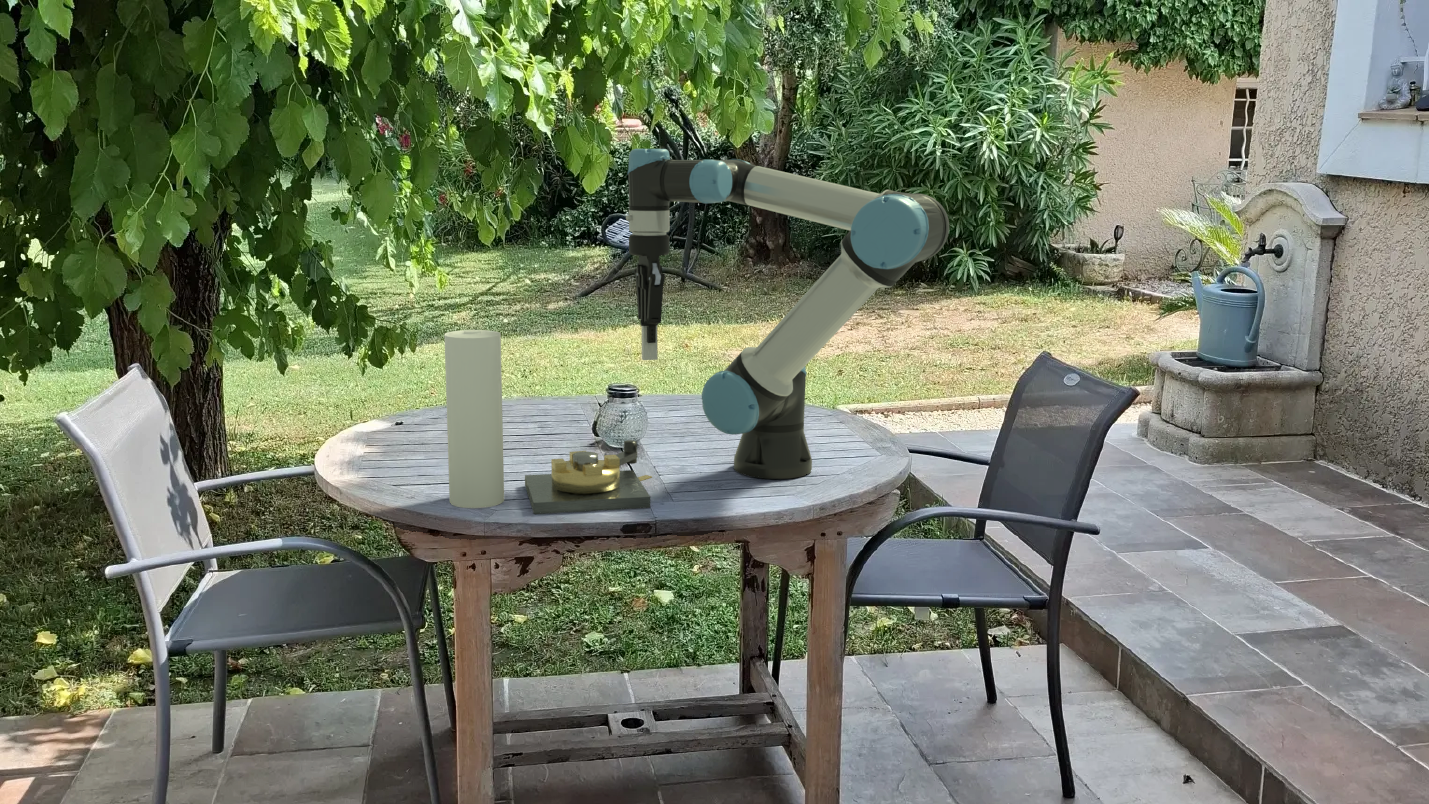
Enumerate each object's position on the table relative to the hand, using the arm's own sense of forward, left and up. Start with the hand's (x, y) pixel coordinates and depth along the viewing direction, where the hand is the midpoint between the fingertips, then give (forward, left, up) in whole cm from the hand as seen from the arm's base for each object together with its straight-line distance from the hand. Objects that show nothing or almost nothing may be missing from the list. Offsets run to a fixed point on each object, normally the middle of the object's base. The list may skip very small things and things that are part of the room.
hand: (649, 359), depth 231 cm
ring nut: (+11, +11, -20) cm, 25 cm away
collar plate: (+12, +14, -22) cm, 29 cm away
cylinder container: (+33, +14, -22) cm, 42 cm away
